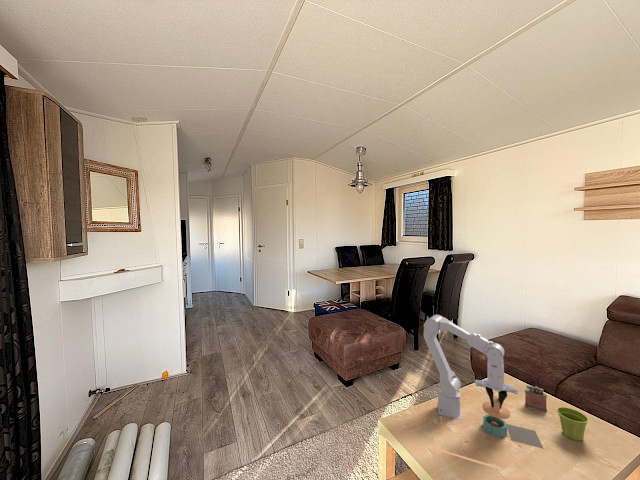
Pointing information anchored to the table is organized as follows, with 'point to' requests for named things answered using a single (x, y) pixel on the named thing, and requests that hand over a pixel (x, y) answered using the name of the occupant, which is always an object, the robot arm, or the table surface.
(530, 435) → the mat
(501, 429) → the bowl
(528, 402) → the lighter
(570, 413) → the plant pot
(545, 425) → the table surface
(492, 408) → the lid
